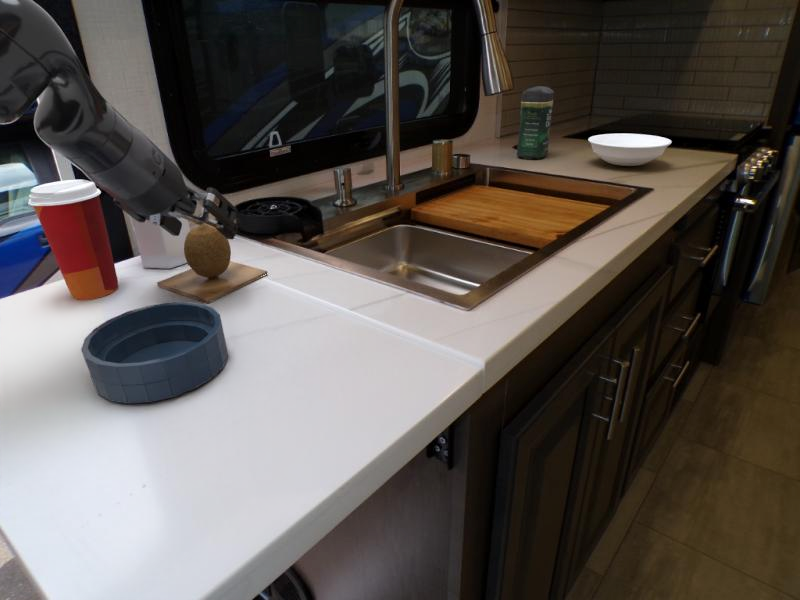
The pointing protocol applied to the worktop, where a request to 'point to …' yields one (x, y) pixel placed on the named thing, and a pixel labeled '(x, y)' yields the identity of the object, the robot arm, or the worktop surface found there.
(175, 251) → the jar
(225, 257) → the fruit
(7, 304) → the worktop surface
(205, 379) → the glazed bowl
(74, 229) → the coffee cup
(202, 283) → the board
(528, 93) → the green canister
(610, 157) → the bowl
